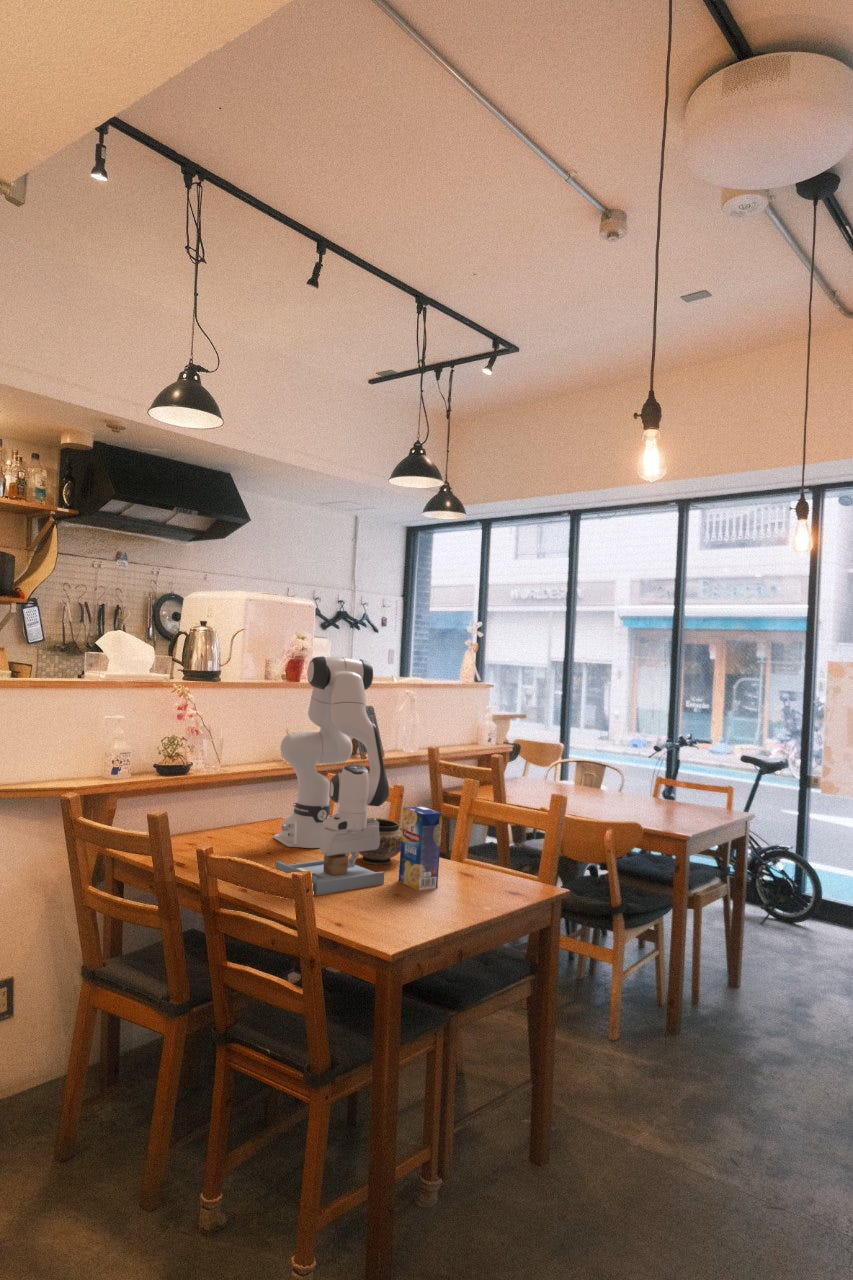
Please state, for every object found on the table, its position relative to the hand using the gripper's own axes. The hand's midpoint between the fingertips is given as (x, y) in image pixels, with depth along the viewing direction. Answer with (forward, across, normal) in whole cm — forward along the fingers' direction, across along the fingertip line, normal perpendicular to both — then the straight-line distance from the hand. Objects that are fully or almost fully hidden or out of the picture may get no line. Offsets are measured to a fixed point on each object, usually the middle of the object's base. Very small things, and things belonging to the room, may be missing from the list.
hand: (349, 867), depth 247 cm
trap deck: (+4, +5, -1) cm, 7 cm away
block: (+1, +5, 0) cm, 5 cm away
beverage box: (+4, -15, +14) cm, 21 cm away
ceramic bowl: (+4, -22, -13) cm, 26 cm away
